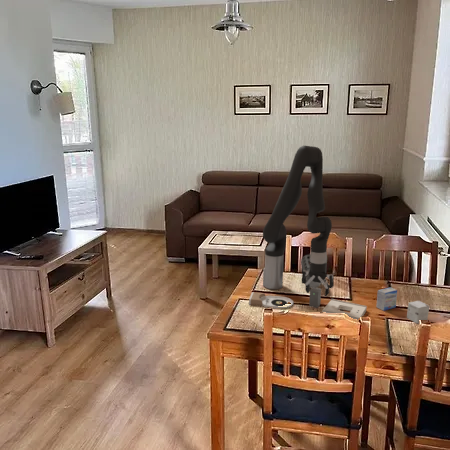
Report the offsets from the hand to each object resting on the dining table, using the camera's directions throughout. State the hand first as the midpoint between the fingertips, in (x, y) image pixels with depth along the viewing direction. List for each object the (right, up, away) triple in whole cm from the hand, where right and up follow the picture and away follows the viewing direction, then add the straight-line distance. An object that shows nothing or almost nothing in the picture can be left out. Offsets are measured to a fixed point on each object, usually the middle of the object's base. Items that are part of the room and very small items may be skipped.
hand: (317, 294), depth 206 cm
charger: (-1, -5, +1) cm, 6 cm away
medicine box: (+31, -6, -1) cm, 32 cm away
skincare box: (+40, -9, -13) cm, 43 cm away
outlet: (+11, -7, -6) cm, 15 cm away
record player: (-20, -5, +4) cm, 22 cm away
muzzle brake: (+3, +2, +32) cm, 32 cm away
